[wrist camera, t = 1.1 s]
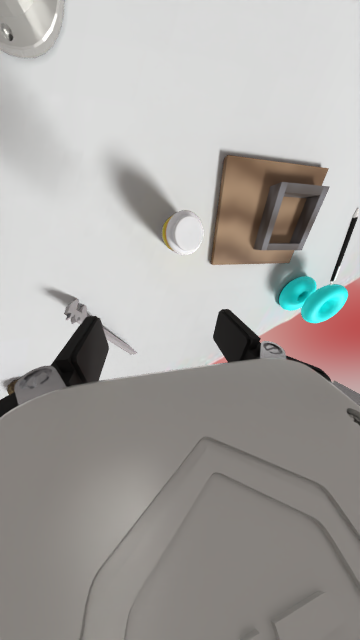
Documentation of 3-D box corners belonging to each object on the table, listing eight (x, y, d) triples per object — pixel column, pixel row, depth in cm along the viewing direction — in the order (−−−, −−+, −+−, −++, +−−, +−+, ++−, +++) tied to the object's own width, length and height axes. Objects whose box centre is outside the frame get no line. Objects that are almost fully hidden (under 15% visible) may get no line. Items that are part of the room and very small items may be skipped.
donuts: (314, 298, 29) (359, 279, 29) (277, 284, 37) (311, 269, 37) (306, 331, 34) (343, 315, 34) (275, 312, 43) (305, 299, 42)
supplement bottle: (164, 252, 27) (171, 260, 19) (158, 218, 24) (164, 209, 16) (190, 248, 28) (209, 254, 19) (188, 214, 25) (209, 204, 16)
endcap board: (224, 158, 22) (236, 146, 19) (321, 171, 25) (345, 162, 22) (210, 263, 30) (217, 267, 27) (285, 262, 34) (298, 264, 31)
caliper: (73, 300, 29) (57, 314, 24) (77, 297, 29) (62, 311, 24) (134, 353, 40) (132, 371, 35) (137, 351, 40) (135, 369, 35)
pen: (327, 285, 42) (331, 286, 41) (353, 209, 31) (360, 208, 30) (330, 284, 41) (334, 285, 41) (357, 207, 31) (364, 206, 30)
